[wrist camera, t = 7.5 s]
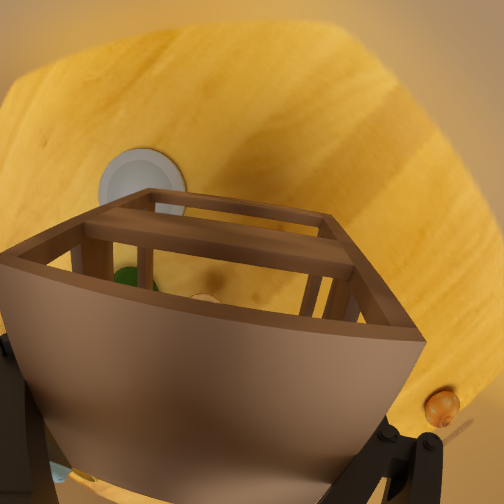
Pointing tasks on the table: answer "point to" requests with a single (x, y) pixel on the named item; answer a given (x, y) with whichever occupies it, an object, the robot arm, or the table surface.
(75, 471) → the plant pot
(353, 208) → the table surface
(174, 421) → the crate
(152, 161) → the dish
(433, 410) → the brown onion
